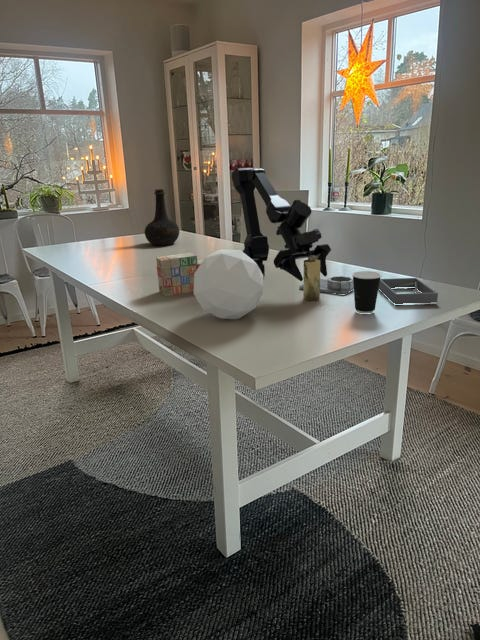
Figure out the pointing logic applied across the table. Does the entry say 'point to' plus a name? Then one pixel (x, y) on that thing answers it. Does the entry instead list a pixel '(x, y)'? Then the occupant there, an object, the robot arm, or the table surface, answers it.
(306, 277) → the gold capped bottle
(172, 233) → the glass bottle
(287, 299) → the table surface
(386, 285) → the tray
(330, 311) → the table surface
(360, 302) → the dixie cup
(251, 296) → the ball
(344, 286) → the grey piece
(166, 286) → the stack of blocks
